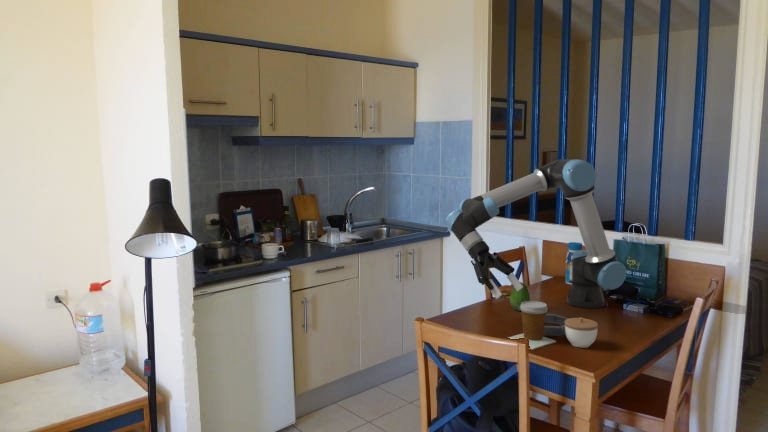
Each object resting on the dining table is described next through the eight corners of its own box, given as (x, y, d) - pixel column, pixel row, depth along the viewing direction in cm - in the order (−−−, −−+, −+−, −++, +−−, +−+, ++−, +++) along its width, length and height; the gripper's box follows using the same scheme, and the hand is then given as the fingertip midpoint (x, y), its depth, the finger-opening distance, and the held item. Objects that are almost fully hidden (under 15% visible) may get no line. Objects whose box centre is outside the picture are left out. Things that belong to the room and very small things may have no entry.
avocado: (520, 314, 223) (521, 285, 221) (506, 309, 229) (506, 281, 228) (533, 310, 228) (534, 282, 226) (518, 306, 234) (519, 278, 232)
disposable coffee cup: (548, 342, 188) (549, 308, 187) (519, 341, 190) (520, 307, 189) (545, 333, 198) (546, 301, 196) (518, 332, 200) (519, 300, 198)
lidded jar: (589, 338, 194) (590, 312, 193) (602, 349, 183) (603, 322, 182) (559, 339, 193) (560, 313, 192) (570, 350, 183) (571, 323, 182)
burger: (517, 293, 255) (517, 283, 254) (521, 299, 246) (521, 289, 245) (495, 293, 255) (495, 284, 254) (499, 299, 246) (499, 289, 245)
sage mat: (528, 332, 200) (528, 331, 200) (556, 342, 191) (556, 340, 191) (505, 339, 194) (505, 338, 194) (532, 349, 184) (532, 348, 184)
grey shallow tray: (545, 319, 216) (545, 311, 216) (581, 329, 203) (581, 321, 203) (517, 326, 207) (517, 319, 207) (552, 338, 194) (552, 330, 194)
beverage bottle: (570, 280, 278) (572, 241, 276) (586, 283, 272) (587, 243, 269) (561, 283, 273) (562, 243, 270) (577, 286, 266) (578, 245, 264)
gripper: (488, 247, 216) (522, 291, 207) (448, 257, 198) (483, 306, 189) (500, 235, 211) (535, 280, 203) (460, 244, 194) (496, 293, 185)
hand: (510, 292), depth 196 cm, fingers open, 13 cm apart
